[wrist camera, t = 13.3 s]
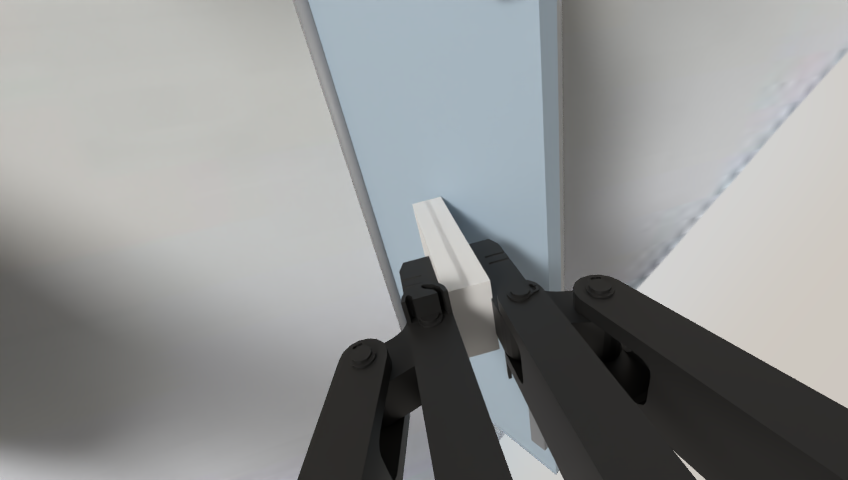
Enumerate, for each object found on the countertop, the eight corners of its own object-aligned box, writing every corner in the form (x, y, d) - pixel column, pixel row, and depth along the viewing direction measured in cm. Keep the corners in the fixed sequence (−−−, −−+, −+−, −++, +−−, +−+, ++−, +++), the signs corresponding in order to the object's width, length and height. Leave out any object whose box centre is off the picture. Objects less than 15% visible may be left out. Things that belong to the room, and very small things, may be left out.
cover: (409, 365, 28) (549, 483, 19) (236, -153, 14) (487, -674, 5) (422, 354, 29) (563, 463, 20) (270, -150, 14) (547, -600, 5)
